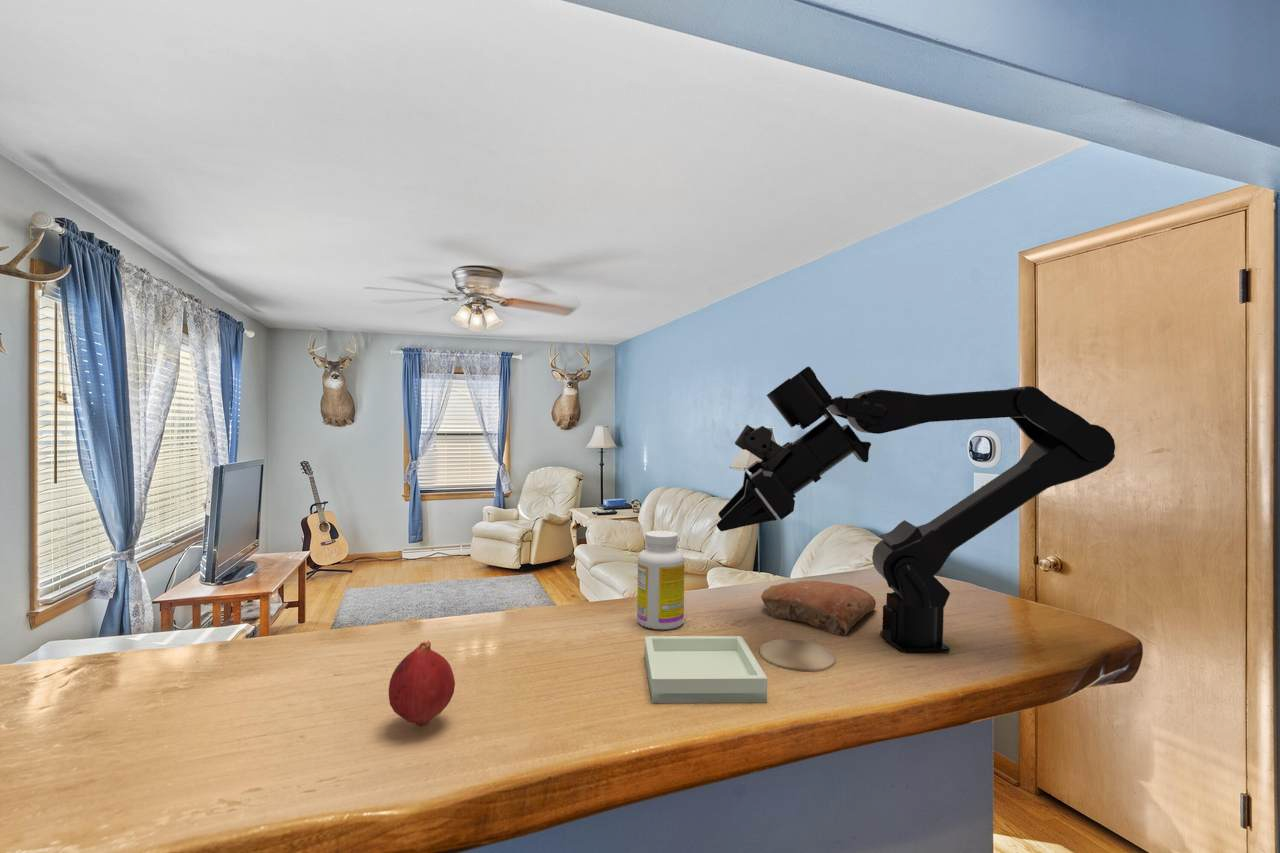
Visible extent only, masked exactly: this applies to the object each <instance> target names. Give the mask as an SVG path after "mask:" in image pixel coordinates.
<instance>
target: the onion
mask: <svg viewBox="0 0 1280 853" xmlns="http://www.w3.org/2000/svg"><path fill="white" fill-rule="evenodd" d="M431 645H432V644H431V642H430V640H423V641H421V642H420V643H419V644H418V646H417V647H416V648H415V649H413V651H411V652H409V653H408V654H407V655H406V656H404V658H403V659H402V660H401V661H400V662H399V663H398V665H397V666H396V667H395V669H394V670H393V673H392V675H391V677H390V680H389V684H388V699H389V700H388V701H389V705H390V707H391V708H392V711H393V712H394V714H396V715H397V716H399V718H402V719H403V720H405V721H406V722H409V723H412V724H414V725H416V726H418V727H425V726H427V725H429V724H430V722H431V721H432V720H434V719H435V718H436V717H437V716H439V715H440V714H441V713H442V712H443V711H444V710H445V709H446V708H447V706H448V705H449V704H450V703H451V700H452V698H453V695H454V693H455V685H456V682H455V676H454V672H453V669H452V667H451V664H450V663H449V662H448V660H447V659H446V658H445V657H444V656H442V655H441V654H440V653H438V652H437V651H435V650H433V649H432V648H431Z"/></svg>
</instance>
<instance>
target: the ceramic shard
mask: <svg viewBox="0 0 1280 853" xmlns="http://www.w3.org/2000/svg"><path fill="white" fill-rule="evenodd" d="M760 598H761V600H762V602H763V605H764V607H765V608H766V609H767V610H768V612H769V613H770V616H771V617H772V618H775V619H780V620H789V621H797V622H798V621H799V622H805V623H807V624H809V625H810V626H812V627H814V628H817V629H818V628H819V629H822V630H824V631H828V632H830V633H831V634H834V635H838V636H841V637H842V636H844V637H845V636H846V635H848V633H849V631H850V630H852V627H854V626H855V625H856V624H857V622H859V620H861V619H862V618H864V617H865V615H867V614H868V613H870V612H871V613H872V612H873V611H874V610H875V609H876V605H877V602H876V599H875V598H874V596H873V595H871V594H870V593H869V592H867V591H865V590H864V589H862V588H860V587H857V586H854V585H852V584H851V585H850V584H844V583H838V582H831V581H829V582H828V581H819V580H801V581H795V582H785V583H779V584H774V585H771V586H769V587H768V588H766V589H764V590H763V591H762V593H761V595H760Z"/></svg>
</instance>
